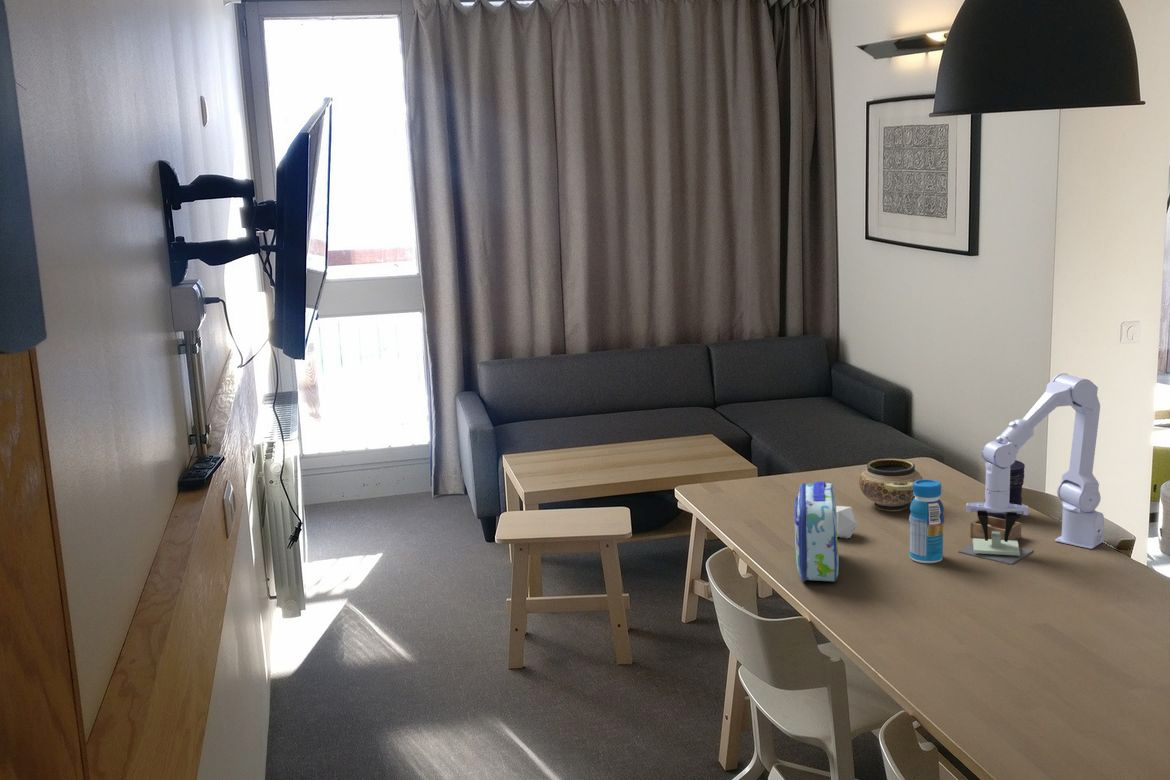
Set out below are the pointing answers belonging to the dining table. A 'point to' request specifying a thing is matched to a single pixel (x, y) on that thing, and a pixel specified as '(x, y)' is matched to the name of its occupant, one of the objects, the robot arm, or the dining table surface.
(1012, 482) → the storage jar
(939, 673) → the dining table surface
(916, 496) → the beverage bottle
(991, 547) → the lid
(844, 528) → the die
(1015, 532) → the box
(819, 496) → the lunch box
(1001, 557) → the mat
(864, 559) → the dining table surface
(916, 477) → the ceramic bowl
